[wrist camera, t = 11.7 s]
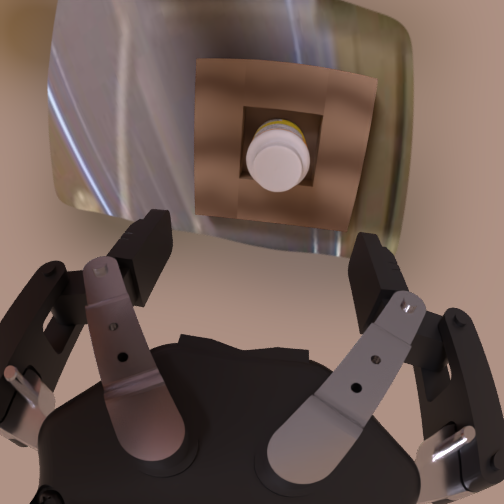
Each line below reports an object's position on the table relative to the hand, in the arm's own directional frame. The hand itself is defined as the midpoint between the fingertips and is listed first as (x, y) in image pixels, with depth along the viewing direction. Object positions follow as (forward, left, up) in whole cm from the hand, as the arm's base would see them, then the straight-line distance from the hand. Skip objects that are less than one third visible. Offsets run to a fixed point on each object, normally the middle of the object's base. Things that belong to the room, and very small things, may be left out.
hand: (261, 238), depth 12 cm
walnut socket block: (+1, 0, -23) cm, 23 cm away
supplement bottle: (+1, 0, -22) cm, 22 cm away
